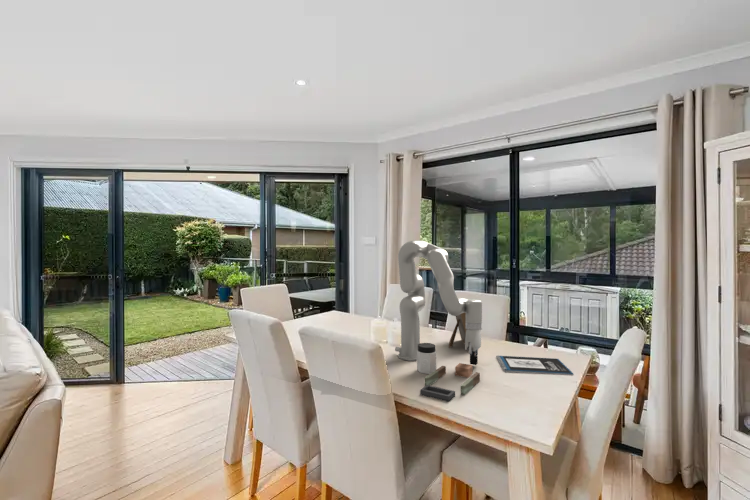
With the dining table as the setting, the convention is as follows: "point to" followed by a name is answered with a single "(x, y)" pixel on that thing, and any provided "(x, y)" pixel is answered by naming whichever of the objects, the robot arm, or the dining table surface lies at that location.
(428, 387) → the tray
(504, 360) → the sketchbook
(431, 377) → the walled channel
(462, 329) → the photo frame
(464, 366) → the terracotta block
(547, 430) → the dining table surface
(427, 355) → the jar
